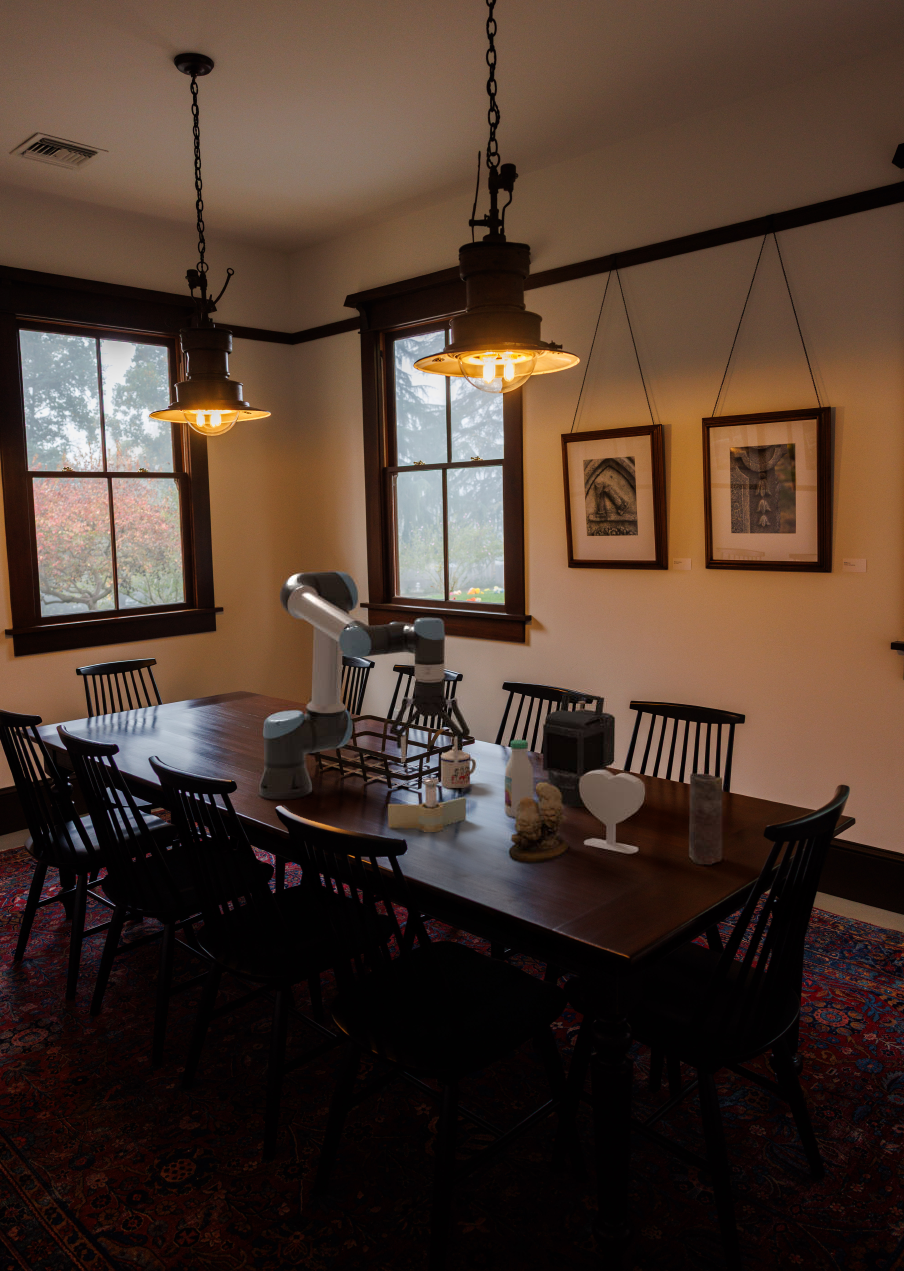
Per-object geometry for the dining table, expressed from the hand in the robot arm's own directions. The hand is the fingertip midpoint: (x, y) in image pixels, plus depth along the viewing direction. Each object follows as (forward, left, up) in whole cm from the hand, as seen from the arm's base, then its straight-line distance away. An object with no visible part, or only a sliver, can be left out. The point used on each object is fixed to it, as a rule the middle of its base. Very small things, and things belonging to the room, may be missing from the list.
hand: (429, 761), depth 221 cm
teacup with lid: (+3, +40, -18) cm, 44 cm away
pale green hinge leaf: (+3, +3, -18) cm, 18 cm away
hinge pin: (0, 0, -18) cm, 18 cm away
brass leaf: (-4, 0, -18) cm, 18 cm away
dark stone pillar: (+66, -15, -18) cm, 70 cm away
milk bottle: (+22, +14, -18) cm, 32 cm away
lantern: (+38, +29, -18) cm, 51 cm away
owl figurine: (+28, -13, -18) cm, 36 cm away
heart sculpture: (+45, -8, -18) cm, 49 cm away
